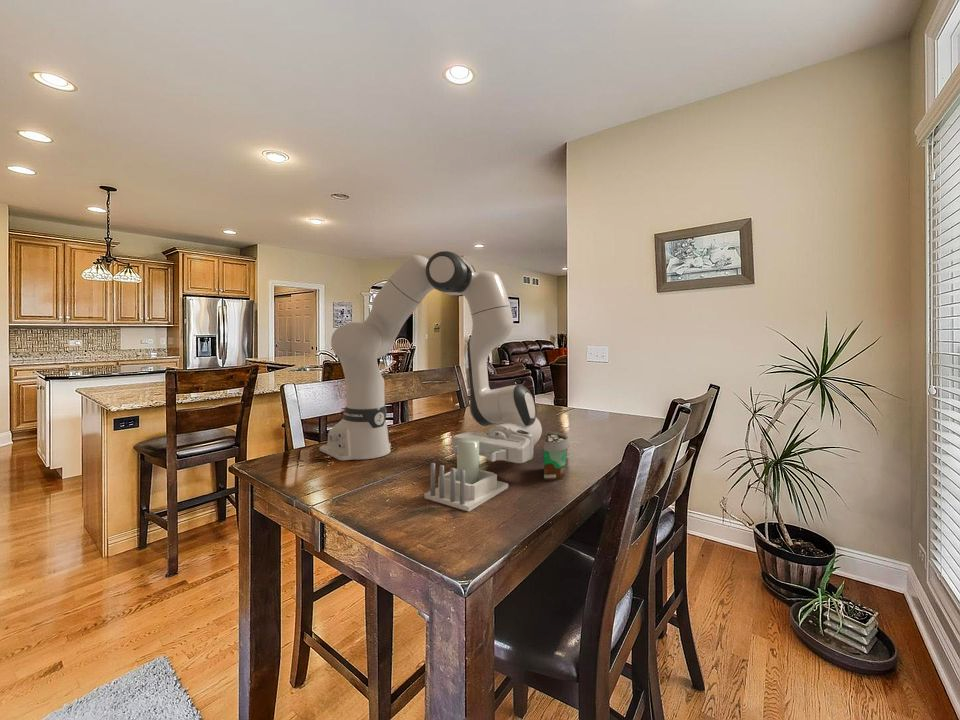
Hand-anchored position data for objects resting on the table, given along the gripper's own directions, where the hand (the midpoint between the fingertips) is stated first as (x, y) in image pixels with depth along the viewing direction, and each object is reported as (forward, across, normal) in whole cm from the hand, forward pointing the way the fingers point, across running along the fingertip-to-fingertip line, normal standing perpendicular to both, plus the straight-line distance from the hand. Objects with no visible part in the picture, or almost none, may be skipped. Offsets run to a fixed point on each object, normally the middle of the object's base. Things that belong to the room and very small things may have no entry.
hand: (472, 454), depth 96 cm
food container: (-21, +12, +9) cm, 26 cm away
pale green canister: (+2, 0, +8) cm, 8 cm away
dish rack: (+2, 0, +9) cm, 9 cm away
